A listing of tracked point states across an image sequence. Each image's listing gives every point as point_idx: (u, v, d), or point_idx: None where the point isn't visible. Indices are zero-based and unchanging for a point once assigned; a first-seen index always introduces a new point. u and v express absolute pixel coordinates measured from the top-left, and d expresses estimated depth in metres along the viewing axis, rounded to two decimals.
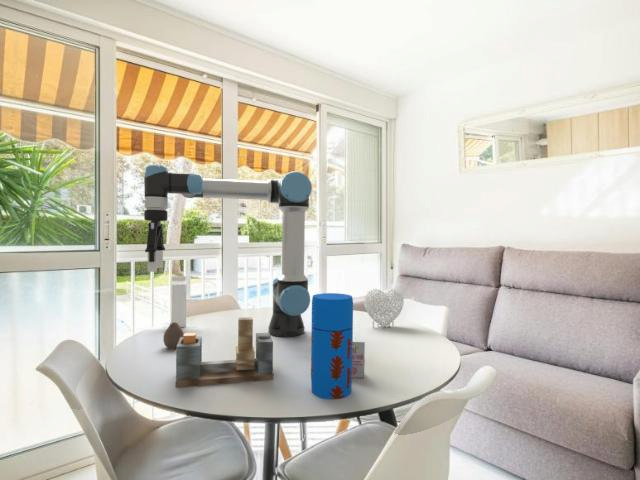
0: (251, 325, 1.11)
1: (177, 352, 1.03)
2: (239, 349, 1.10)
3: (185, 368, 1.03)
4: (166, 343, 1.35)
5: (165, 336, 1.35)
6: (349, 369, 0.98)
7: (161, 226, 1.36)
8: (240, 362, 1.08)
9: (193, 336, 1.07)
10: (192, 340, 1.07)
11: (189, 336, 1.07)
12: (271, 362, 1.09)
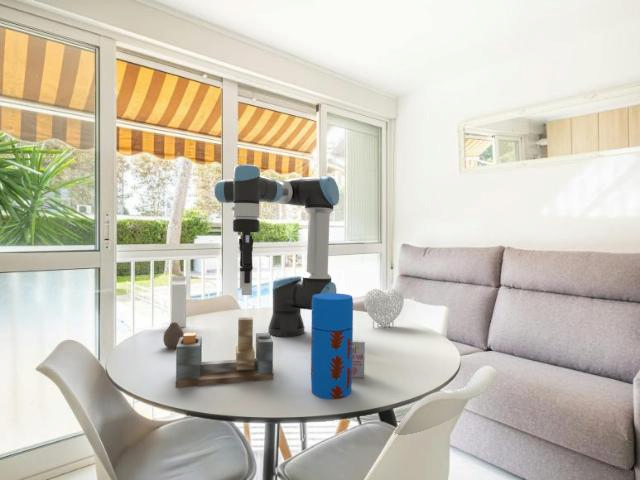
0: (251, 325, 1.11)
1: (177, 352, 1.03)
2: (239, 349, 1.10)
3: (185, 368, 1.03)
4: (166, 343, 1.35)
5: (165, 336, 1.35)
6: (349, 369, 0.98)
7: None
8: (240, 362, 1.08)
9: (193, 336, 1.07)
10: (192, 340, 1.07)
11: (189, 336, 1.07)
12: (271, 362, 1.09)
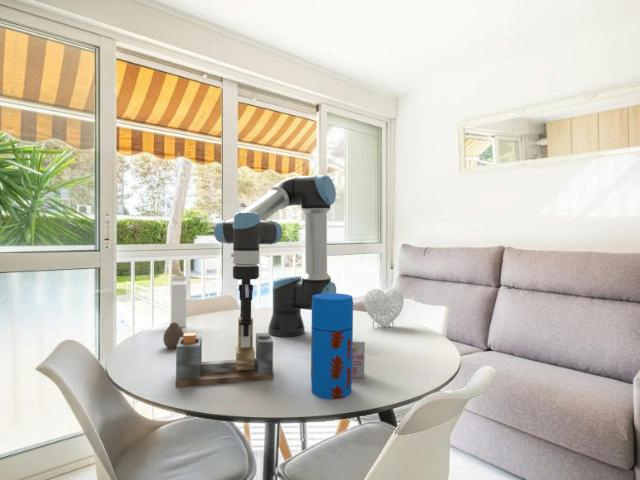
0: (251, 325, 1.11)
1: (177, 352, 1.03)
2: (239, 349, 1.10)
3: (185, 368, 1.03)
4: (166, 343, 1.35)
5: (165, 336, 1.35)
6: (349, 369, 0.98)
7: (251, 284, 1.13)
8: (240, 362, 1.08)
9: (193, 336, 1.07)
10: (192, 340, 1.07)
11: (189, 336, 1.07)
12: (271, 362, 1.09)
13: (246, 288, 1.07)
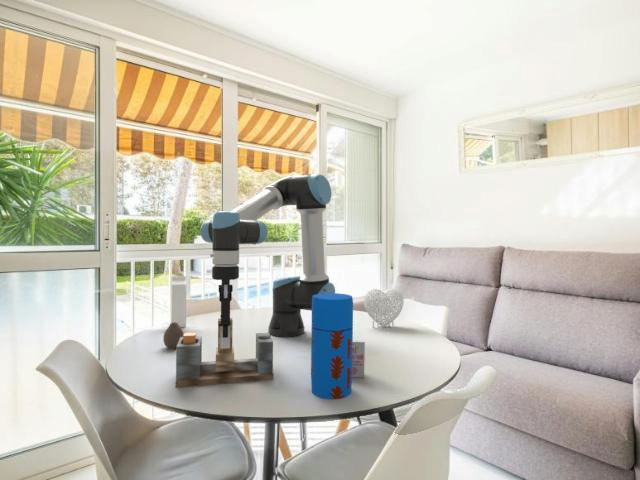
0: (231, 326, 1.09)
1: (177, 352, 1.03)
2: (218, 350, 1.09)
3: (185, 368, 1.03)
4: (166, 343, 1.35)
5: (165, 336, 1.35)
6: (349, 369, 0.98)
7: None
8: (219, 363, 1.07)
9: (193, 336, 1.07)
10: (192, 340, 1.07)
11: (189, 336, 1.07)
12: (271, 362, 1.09)
13: (225, 288, 1.06)
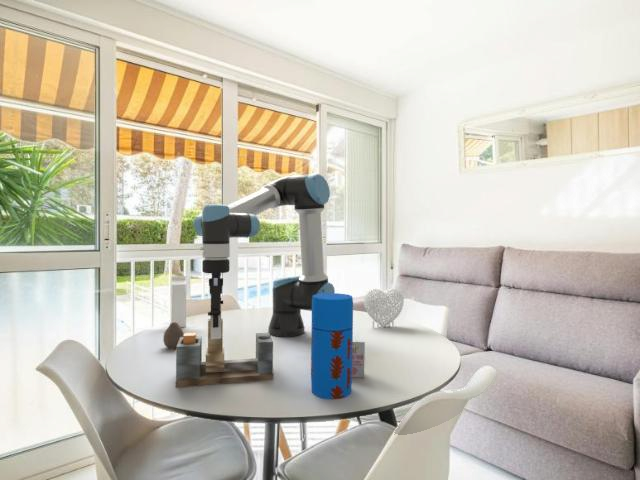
0: (221, 326, 1.09)
1: (177, 352, 1.03)
2: (208, 351, 1.08)
3: (185, 368, 1.03)
4: (166, 343, 1.35)
5: (165, 336, 1.35)
6: (349, 369, 0.98)
7: (222, 278, 1.11)
8: (209, 364, 1.06)
9: (193, 336, 1.07)
10: (192, 340, 1.07)
11: (189, 336, 1.07)
12: (271, 362, 1.09)
13: None
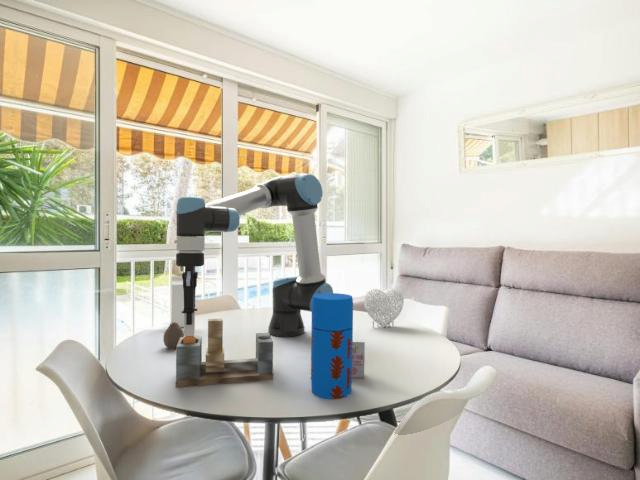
0: (221, 326, 1.09)
1: (177, 352, 1.03)
2: (208, 351, 1.08)
3: (185, 368, 1.03)
4: (166, 343, 1.35)
5: (165, 336, 1.35)
6: (349, 369, 0.98)
7: (196, 272, 1.10)
8: (209, 364, 1.06)
9: (193, 338, 1.07)
10: (192, 341, 1.07)
11: (189, 338, 1.07)
12: (271, 362, 1.09)
13: (188, 276, 1.03)
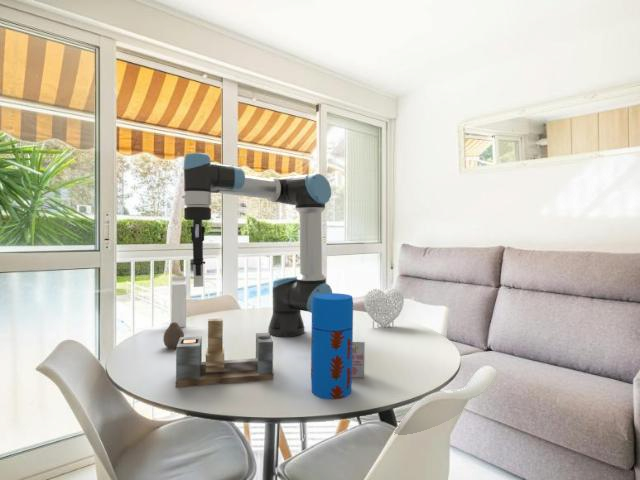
0: (221, 326, 1.09)
1: (177, 352, 1.03)
2: (208, 351, 1.08)
3: (185, 368, 1.03)
4: (166, 343, 1.35)
5: (165, 336, 1.35)
6: (349, 369, 0.98)
7: None
8: (209, 364, 1.06)
9: None
10: None
11: (189, 343, 1.07)
12: (271, 362, 1.09)
13: (196, 228, 1.08)
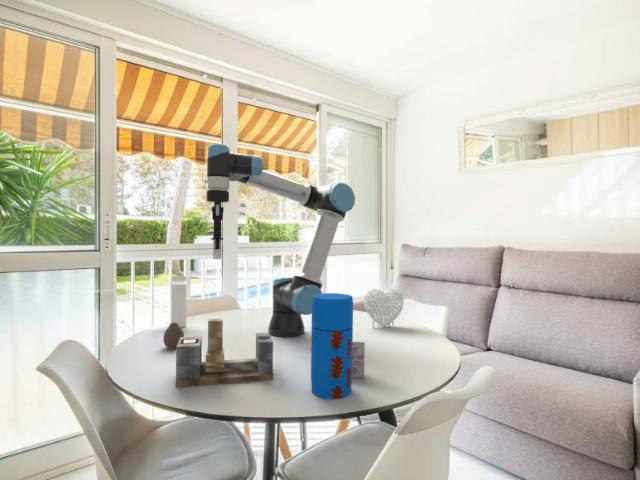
0: (221, 326, 1.09)
1: (177, 352, 1.03)
2: (208, 351, 1.08)
3: (185, 368, 1.03)
4: (166, 343, 1.35)
5: (165, 336, 1.35)
6: (349, 369, 0.98)
7: None
8: (209, 364, 1.06)
9: None
10: None
11: (189, 343, 1.07)
12: (271, 362, 1.09)
13: (217, 208, 1.27)
